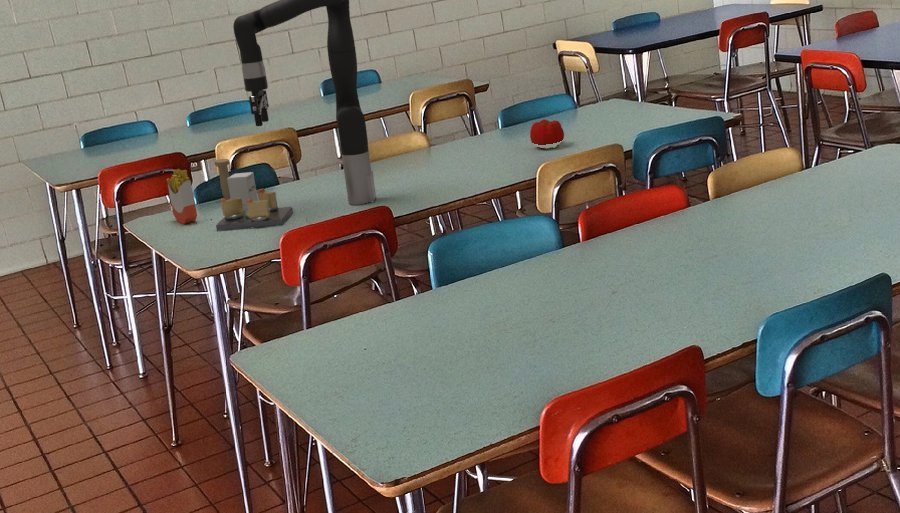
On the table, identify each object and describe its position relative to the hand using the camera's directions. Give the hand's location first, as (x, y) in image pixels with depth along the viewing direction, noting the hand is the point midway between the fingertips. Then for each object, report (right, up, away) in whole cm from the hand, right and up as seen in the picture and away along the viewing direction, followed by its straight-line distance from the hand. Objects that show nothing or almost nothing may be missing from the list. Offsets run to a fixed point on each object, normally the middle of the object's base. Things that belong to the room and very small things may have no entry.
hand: (262, 123), depth 353 cm
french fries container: (-28, -33, +7) cm, 44 cm away
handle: (-18, -24, +31) cm, 43 cm away
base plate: (-2, -33, -4) cm, 33 cm away
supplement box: (-8, -29, +14) cm, 33 cm away
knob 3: (+1, -33, -11) cm, 34 cm away
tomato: (+102, -2, +57) cm, 117 cm away
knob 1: (-9, -32, -4) cm, 33 cm away
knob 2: (+2, -29, +1) cm, 29 cm away
